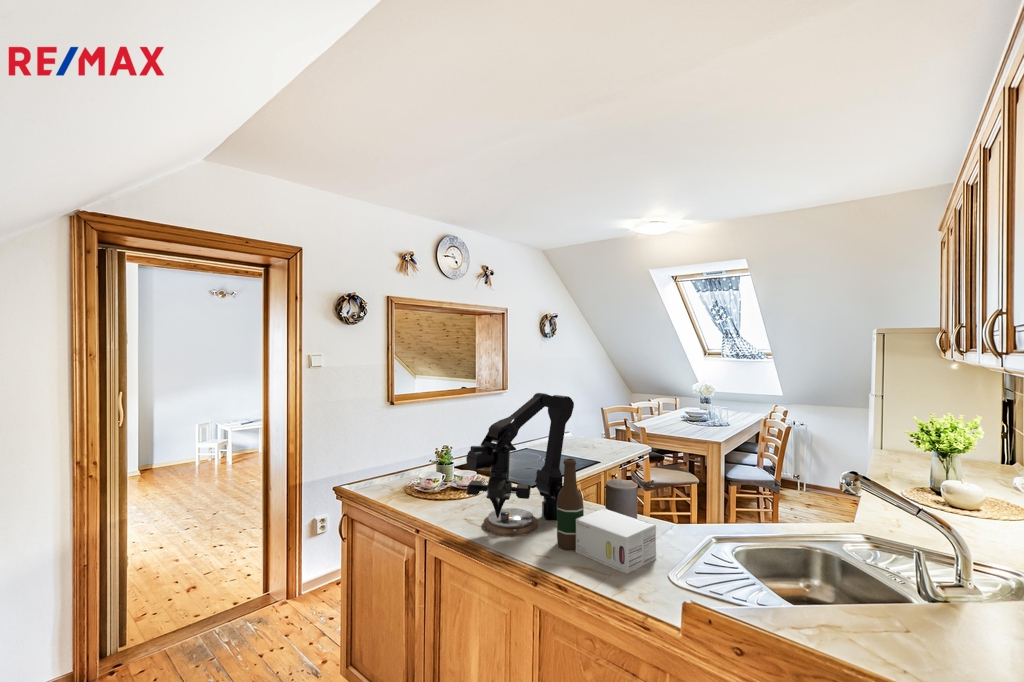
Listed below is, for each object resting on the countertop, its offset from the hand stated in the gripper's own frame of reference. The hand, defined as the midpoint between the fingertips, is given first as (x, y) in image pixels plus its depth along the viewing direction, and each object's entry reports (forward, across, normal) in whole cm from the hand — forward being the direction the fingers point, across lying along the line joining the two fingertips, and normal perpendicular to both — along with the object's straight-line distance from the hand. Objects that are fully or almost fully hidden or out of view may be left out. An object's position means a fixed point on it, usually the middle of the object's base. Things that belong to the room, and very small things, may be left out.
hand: (497, 517), depth 146 cm
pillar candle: (+3, +37, +6) cm, 38 cm away
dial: (+2, +3, +5) cm, 7 cm away
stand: (+4, +4, +5) cm, 7 cm away
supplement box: (+3, +34, -14) cm, 36 cm away
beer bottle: (+3, +22, -9) cm, 24 cm away
